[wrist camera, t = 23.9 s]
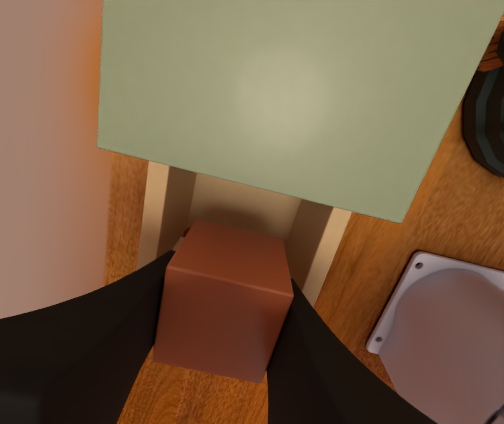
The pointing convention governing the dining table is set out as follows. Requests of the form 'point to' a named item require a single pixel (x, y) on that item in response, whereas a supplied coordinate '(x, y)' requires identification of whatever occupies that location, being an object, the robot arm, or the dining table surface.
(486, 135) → the mug
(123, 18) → the cabinet
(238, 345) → the block
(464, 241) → the dining table surface
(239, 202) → the drawer
